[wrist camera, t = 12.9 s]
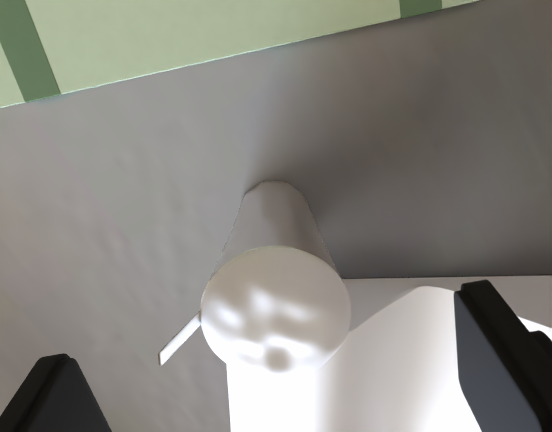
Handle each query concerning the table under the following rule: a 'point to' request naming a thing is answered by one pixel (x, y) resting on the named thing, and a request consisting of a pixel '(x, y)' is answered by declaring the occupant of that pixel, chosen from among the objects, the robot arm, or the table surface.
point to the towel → (160, 36)
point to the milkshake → (272, 291)
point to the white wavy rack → (386, 363)
